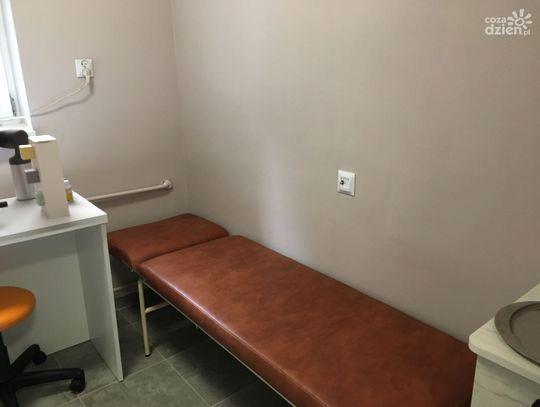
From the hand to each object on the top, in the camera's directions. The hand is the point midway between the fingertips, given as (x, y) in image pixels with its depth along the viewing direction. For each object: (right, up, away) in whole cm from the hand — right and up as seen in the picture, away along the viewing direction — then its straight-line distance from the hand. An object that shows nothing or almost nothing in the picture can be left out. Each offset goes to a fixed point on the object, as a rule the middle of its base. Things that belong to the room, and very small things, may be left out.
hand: (7, 203), depth 178 cm
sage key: (+12, 0, +9) cm, 14 cm away
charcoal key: (+9, +9, +4) cm, 14 cm away
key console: (+14, -3, +11) cm, 18 cm away
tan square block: (+9, +19, +2) cm, 21 cm away
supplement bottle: (+12, +1, +28) cm, 30 cm away
